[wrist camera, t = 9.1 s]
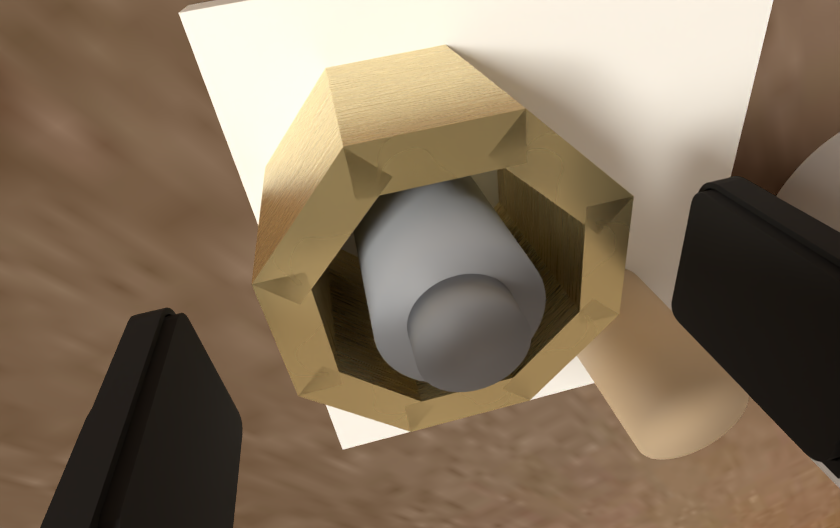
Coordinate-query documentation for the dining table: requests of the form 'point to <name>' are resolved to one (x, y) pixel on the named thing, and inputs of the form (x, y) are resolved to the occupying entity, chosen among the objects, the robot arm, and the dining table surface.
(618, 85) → the post board
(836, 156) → the lumpy-topped squat cylinder
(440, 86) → the brass collar
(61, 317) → the dining table surface
